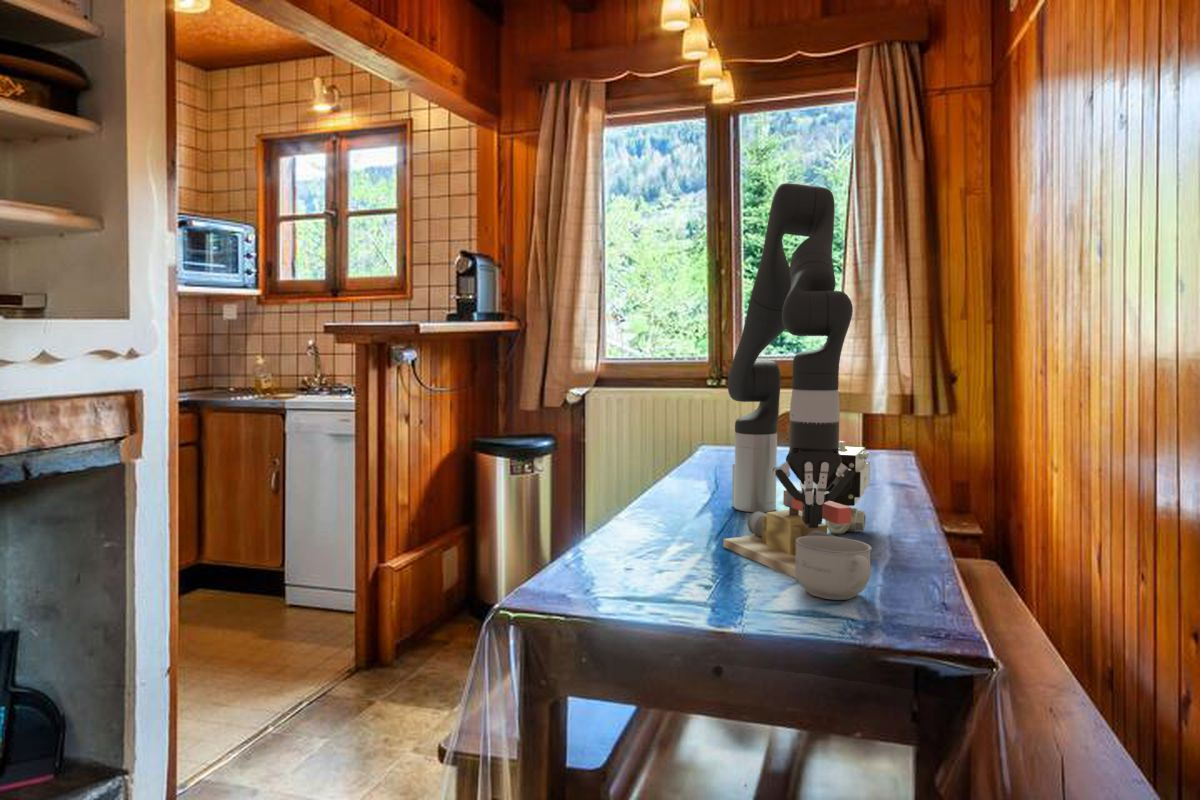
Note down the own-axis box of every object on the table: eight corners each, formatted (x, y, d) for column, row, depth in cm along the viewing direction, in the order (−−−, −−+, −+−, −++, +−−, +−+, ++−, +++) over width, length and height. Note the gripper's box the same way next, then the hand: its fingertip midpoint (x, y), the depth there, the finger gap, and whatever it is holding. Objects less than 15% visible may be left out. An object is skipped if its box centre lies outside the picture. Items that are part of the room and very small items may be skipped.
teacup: (784, 583, 121) (785, 533, 120) (852, 582, 122) (853, 531, 121) (817, 615, 107) (818, 558, 106) (893, 613, 108) (894, 556, 107)
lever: (781, 504, 136) (781, 490, 136) (796, 503, 137) (797, 489, 137) (835, 524, 122) (836, 508, 121) (852, 522, 123) (853, 507, 122)
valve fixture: (723, 546, 142) (723, 498, 142) (789, 538, 149) (790, 491, 148) (797, 578, 123) (798, 522, 123) (869, 567, 129) (871, 514, 129)
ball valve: (859, 543, 145) (861, 448, 143) (812, 538, 148) (814, 446, 147) (871, 523, 161) (873, 437, 159) (829, 519, 164) (831, 435, 163)
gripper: (777, 420, 119) (775, 532, 120) (864, 420, 119) (861, 532, 120) (767, 416, 126) (765, 521, 128) (849, 416, 126) (846, 522, 127)
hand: (812, 526), depth 124 cm, fingers closed
